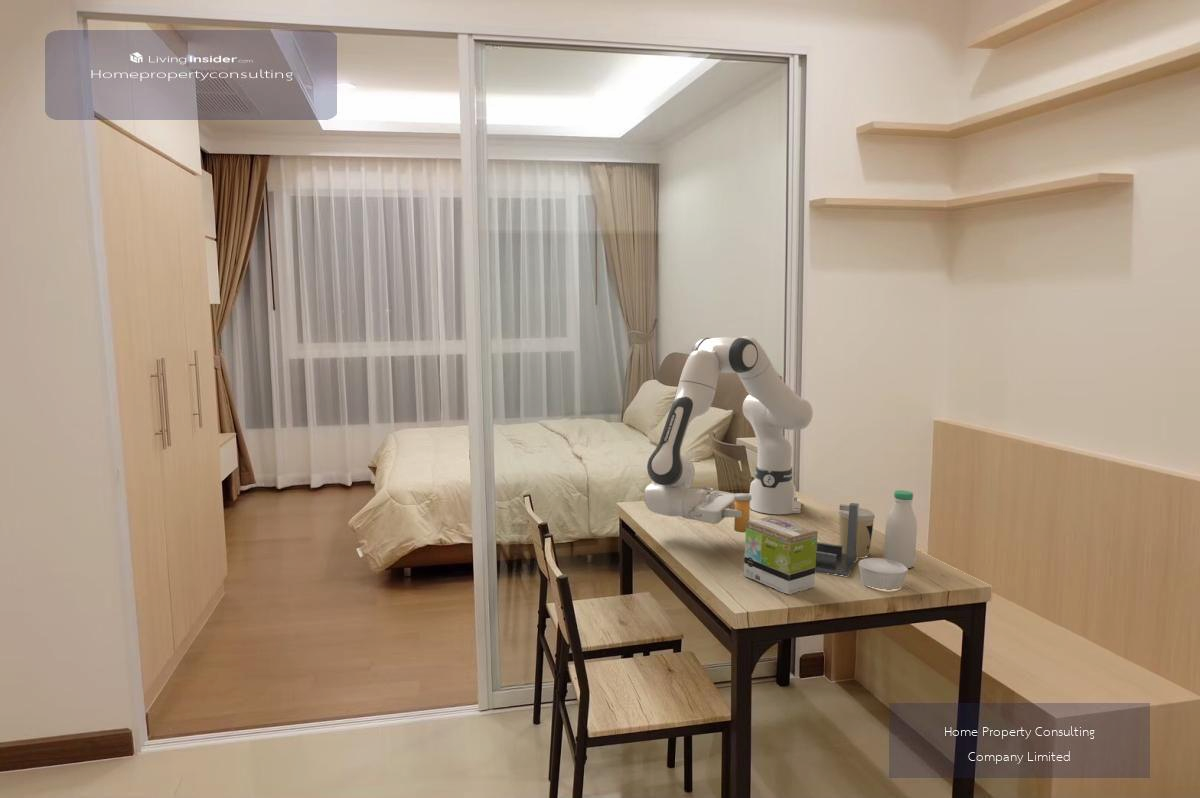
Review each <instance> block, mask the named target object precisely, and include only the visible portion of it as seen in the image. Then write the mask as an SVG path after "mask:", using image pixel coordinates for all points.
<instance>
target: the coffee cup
mask: <svg viewBox="0 0 1200 798" xmlns="http://www.w3.org/2000/svg"><path fill="white" fill-rule="evenodd" d="M838 515H839V545H840V546H843V547H842V553H843V554H846V553H847V537H848V521H849V511H844V510H839V512H838ZM874 520H875V513H874V512H873V511H872V510H869V509H865V508H862V507H859V511H858V527H857V542H856V556H857V557H865V556H868V555H869V556H870V549H871V544H872V543H871V542H872V535H873V529H874ZM869 556H868V557H869ZM865 558H866V557H865Z"/></svg>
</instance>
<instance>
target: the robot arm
mask: <svg viewBox="0 0 1200 798" xmlns="http://www.w3.org/2000/svg"><path fill="white" fill-rule="evenodd" d="M731 373H732V374H733V373H734V374H735V373H736V374H737V376H738V378H739V380H740V382H741V383H742V385H743V387H744V389H745V391H746V392H747V393H748V395H747V396H746V398H745V397H744V400H743V403H742V414H743V416H744V417H745V419H746V420H747V421H748V422H749V423H750V425H751V428H752V429H753V433H754V435H755V438H756V439H755V440H756V444H757V445H756V446H757V450H756V451H757V454H756V455H757V459H756V461H757V462H756V464H757V465H756V466H755V471H754V473H755V475H754V476H755V479H754V480H752V482H750V486H749V494H750V495H751V500H750V510H752V511H754V512H757V513H762V514H769V515H789V514H801V509H802V500H801V499H798V497H796V486H795V484H794V482H793V467H792V453H793V449H792V444H791V442H790V441H789V440H788V439H787V438H786V437H785V435H784V434H783V431H782V429H784V430H789V431H791V430H792V431H795V430H803V429H806V428H807V427H808V426H809V425H810V424H811V421H812V419H813V416H814V415H813V414H814V413H813V408H812V405H811V403H810V402H809V400H806V399H804V398H802V397H801V396H799V395H798V394H797V393H795V391H793V390H792V389H791V388H790V387H789V386H788V384H786V383H785V381H783V379H782V378H781V377H780V376H779V374H778V372H777V371H776V369H775V367H774V365H773V363H772V362H771V359H770V358H769V357H768V354H767V353H766V351H765V350H764V348H763V346H761V344H760V343H759V341H757V340H756V338H754V337H752V336H749V335H743V336H740V337H733V336H732V337H731V336H722V337H713V338H712V337H706V338H701V339H699V340H698V341H696V342H695V343H694V345H693V347H692V349H691V353H690V354H689V355H688V357H687V359H686V361H685V363H684V366H683V367H682V372H681V375H680V378H679V382H678V386H677V390H676V393H675V396H674V400H673V401H672V404H671V405H672V406H671V408H670V410H669V412H668V415H667V419H666V421H665V424H664V427H663V430H662V433H661V437H660V439H659V442H658V445H657V446H656V447H655V449H654V451H653V452H652V453H651V455H650V457H648V460H647V465H646V469H647V474H648V476H649V478H650V479H651V482H650V483H649V484H647V486H645V489H644V491H643V492H644V493H643V500H644V504H645V507H646V508H647V509H648V511H650V512H652V513H654V514H657V515H661V516H667V517H681V518H682V519H687V520H694V521H698V522H703V523H708V524H719V523H720V522H721V521H723V520H724V519H726V518H735V517H742V516H743V510H739V509H737V510H735V499H734V494H735V493H733V492H728V491H723V490H714V488H712V487H706V488H705V487H704V488H692V485H693V481H694V477H695V467H694V464H693V463H692V461H691V460H690V459H688V458H687V457H685V456H683V455H681V454H682V453H681V451H682V447H683V443H684V440H685V437H686V434H687V430H688V427H689V425H690V423H691V422H692V421H693V420H694V419H696V418H697V417H701V416H703V415H705V414H706V413H707V412H709V410H710V408H711V406H712V404H713V400H714V398H715V393H716V390H717V384H718V379H719V375H720V374H731Z"/></svg>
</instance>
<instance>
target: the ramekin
mask: <svg viewBox="0 0 1200 798" xmlns="http://www.w3.org/2000/svg"><path fill="white" fill-rule="evenodd" d="M858 567H859V572H860V573H859V574H860V580H861V583H862V584H863V585H864V584H865V585H867V586H870V587H874V588H879V589H886V590H892V589H899V588H901V587H902V588H903V586H904V583H905V580H906V576H907V575H908V571H909V569H907V567H906V566H904V565H903V564H901V563H899V562H896V561H892V560H888V559H884V558H881V557H866V558H862V559H861V560H859V562H858ZM865 585H864V586H865ZM902 588H901V589H902Z"/></svg>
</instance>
